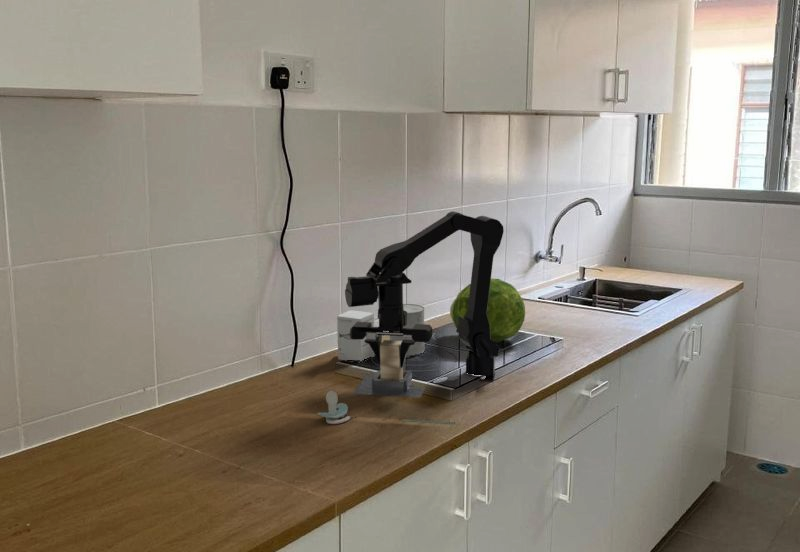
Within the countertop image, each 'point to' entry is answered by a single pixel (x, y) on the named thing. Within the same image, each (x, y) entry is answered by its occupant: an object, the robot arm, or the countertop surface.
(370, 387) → the pocket fixture
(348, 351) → the supplement box
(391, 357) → the maple block
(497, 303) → the lettuce
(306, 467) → the countertop surface
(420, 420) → the pad
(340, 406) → the pacifier
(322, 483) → the countertop surface
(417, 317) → the white stone cylinder
